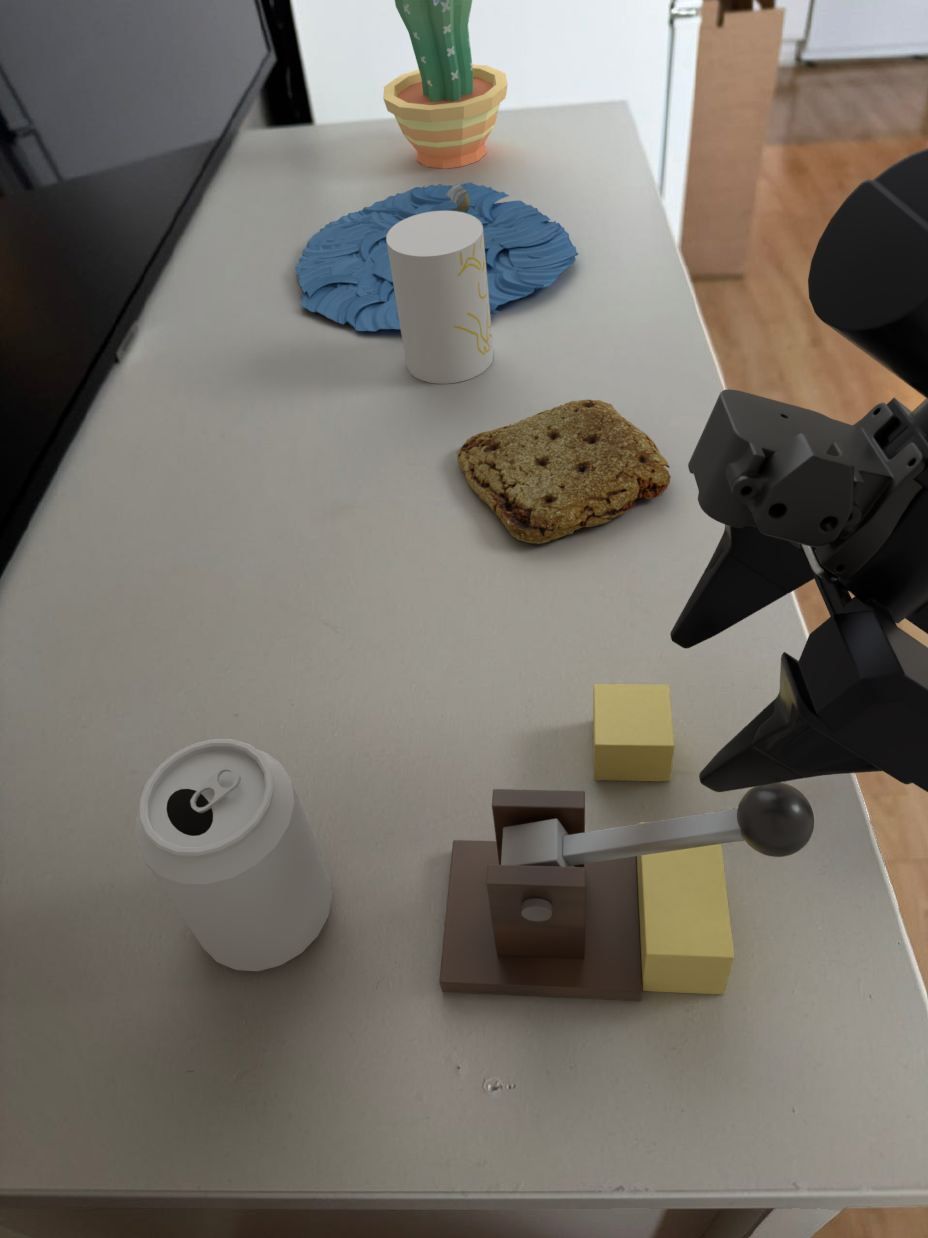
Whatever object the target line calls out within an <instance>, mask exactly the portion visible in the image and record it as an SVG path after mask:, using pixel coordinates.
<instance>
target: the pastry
mask: <svg viewBox="0 0 928 1238" xmlns="http://www.w3.org/2000/svg"><path fill="white" fill-rule="evenodd" d="M457 464H458V466H459V468H460V470H461V471H462V472H463V474H464V478H465V479H466V482H467V485H469V487H470V488H471V489H472V490H473V491H474V493H475V494H476V495H477V496H478V498H479V499H481V501H483V502H484V503H485V504H486V505H488V507H489V508H490V509H491V511H492V512H493V513H494V514H495V516H496V517H498V518H499V519H500V521H501V522H502V524H503V525H504V527H505V530H507V532H508V533H509V534H510V536H512V537H513V538H514V539H516V540H517V541H519V542H523V543H528V544H532V545H542V544H546V543H550V542H551V541H553V542H555V541H557V540H558V539H561V538H563V537H564V536H569V535H573V534H574V531H577V530H580V529H582V528H592V527H596V526H601V525H605V524H607V523H609V522H611V521H613V520H614V519H615V518H617V517H619V516H621V515H624V514H626V513H627V512H629V511H632V509H633V508H635V507H636V506H635V505H636V504H635V501H636V500H637V499H641V498H645V499H646V500H651V499H656V498H659V497H661V496H662V495H663V493H665V491H666V490H667V489H668V487H669V484H670V483H671V477H672V476H671V475H670V473H669V470H668V469H670V464H669V463H668V460H667V459H666V458H665V456H663V455H662V454H661V452H660V450H659V448H658V446H657V445H656V443H655V441H654V440H653V439H652V438H651V437H650V436H649V435H647V434H646V433H645V432H644V431H643V430H641V429H640V428H638V427H637V426H636V425H634V424H633V423H632V422H630V421H629V420H627V419H626V418H625V417H622V415H621V414H620V413H619V412H618V410H617V409H616V408H615V407H614V406H613V404H612V403H608V402H605V401H604V400H600V399H579V400H571V401H569V402H565V403H564V404H560V405H558V406H555V407H552V408H551V409H546V410H543V411H540V412H537V413H536V414H534V415H532V416H528V417H526V418H525V419H521V420H519V421H517V422H514V423H513V424H511V423H509V424H508V425H505V426H501V427H498V428H494V429H492V430H488V431H483V432H480V433H477V434H475V435H472V436H471V437H470V438H469V437H468V438H467V439H466V441H465V442H464V443H463V444H462V446H461V447H460V448H459V450H458V451H457ZM667 468H668V469H667Z"/></svg>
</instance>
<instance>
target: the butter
mask: <svg viewBox="0 0 928 1238" xmlns="http://www.w3.org/2000/svg"><path fill="white" fill-rule="evenodd" d="M641 823H647V821H645V822H643V821H640V822H639V823H638V824H641ZM722 845H723V844H716V845H709V846H703V847H696V848H689V849H682V850H675V851H668V852H662V853H655V854H648V855H641V856H637V875H638V896H639V917H640V939H641V960H642V981H643V992H655V993H656V992H657V993H679V994H680V993H682V994H698V995H699V994H701V995H702V994H703V995H720V996H721V995H724V994H725V991H726V987H727V983H728V980H729V977H730V975H731V974H730V973H731V970H732V967H733V963H734V960H735V950H734V943H733V935H732V934H733V932H732V925H731V917H730V916H731V915H730V906H729V900H728V899H729V898H728V892H727V891H728V890H727V883H726V882H727V881H726V873H725V864H724V855H723V846H722Z"/></svg>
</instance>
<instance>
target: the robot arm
mask: <svg viewBox="0 0 928 1238" xmlns="http://www.w3.org/2000/svg"><path fill="white" fill-rule="evenodd" d="M808 271H809V273H808V278H807V285H808V286H807V287H808V299H809V301H810V304H811V307H812V309H813V312H814V313H815V315H816V317H817V318H818V319H819V320H820V321H822V322H823V323H824V324H825V325H827V326H828V327H829V328H831V329H832V330H833V331H835V332H836V333H838V334H839V335H840V336H842V337H843V338H844V339H846V340H847V341H848V342H850V343H851V344H852V345H854V346H855V347H857V348H858V350H861V352H863V353H865V354H866V355H868V356H869V357H870V358H871V359H872V360H874V361H875V362H877V363H878V364H879V365H881V366H882V367H883V368H885V369H886V370H888V371H889V372H890V373H892V374H893V375H894V376H896V377H897V378H898V379H900V380H901V381H902V382H904V383H905V384H906V385H908V386H909V387H910V388H912V389H913V390H915V391H916V393H919V394H920V395H922V396H923V397H924V398H925V399H924V400H923V401H921V403H920V404H918V405H917V406H916V408H914V409H913V410H911V409H909V408H908V407H907V406H906V405H904V404H903V402H901V401H899V400H898V399H897V398H896V397H893V398H891V400H889V401H888V403H886V402H880V403H877V404H876V405H874V406H873V407H872V408H871V409H870V410H869V411H868V412H867V413H866V414H865V415H864V416H863V417H862V418H860V420H858V421H857V422H854V424H849V423H847V422H845V421H844V422H843V421H840V420H837V419H834V418H831V417H829V416H827V415H826V414H823V413H821V412H818V411H815V410H812V409H809V408H805V407H801V406H797V405H794V404H790V403H786V402H784V401H779V400H775V399H773V398H768V397H764V396H762V395H761V396H760V395H756V394H753V393H750V392H746V391H742V390H737V389H724V390H721V391H720V392H719V395H718V397H717V399H716V402H715V404H714V406H713V409H712V410H711V413H710V414H709V417H708V418H707V421H706V424H705V426H704V428H703V429H702V432H701V435H700V437H699V439H698V441H697V444H696V446H695V448H694V450H693V452H692V455H691V457H690V459H689V461H688V464H687V467H688V471H689V473H690V474H692V475H693V476H694V480H695V483H696V486H697V490H698V493H697V502H698V505H699V507H700V509H701V510H702V511H703V513H704V514H705V515H706V516H708V517H709V518H710V519H712V520H714V521H716V522H718V523H720V524H722V525H724V530H723V533H722V536H721V538H720V539H719V541H718V544H717V546H716V547H715V550H714V552H713V554H712V556H711V558H710V560H709V561H708V564H707V566H706V567H705V569H704V571H703V573H702V575H701V576H700V578H699V580H698V581H697V584H696V585H695V587H694V589H693V591H692V592H691V595H690V596H689V598H688V600H687V602H686V603H685V605H684V607H683V609H682V611H681V613H680V614H679V616H678V618H677V620H676V622H675V624H674V625H673V627H672V628H671V630H670V633H669V635H670V640H671V641H672V642H673V643H674V644H676V645H678V646H679V647H681V648H682V649H690V648H692V647H694V646H697V645H699V644H701V643H703V642H705V641H707V640H710V639H711V638H713V637H715V636H717V635H720V634H721V633H723V632H724V631H727V629H729V628H732V627H733V626H735V625H736V624H739V623H740V622H741V621H743V620H745V619H747V618H749V617H751V616H752V615H754V614H755V613H758V612H759V611H761V610H762V609H764V608H766V607H768V606H769V605H771V604H773V603H774V602H776V601H778V600H780V599H781V598H783V597H785V596H787V595H789V594H790V593H792V592H795V590H797V589H799V588H801V587H802V586H804V585H807V584H808V583H810V582H811V581H813V580H814V581H815V584H816V586H817V588H818V591H819V593H820V595H821V597H822V600H823V602H824V605H825V607H826V609H827V611H828V614H829V617H828V618H827V619H825V621H823V622H822V623H821V624H820V625H818V626H817V627H816V628H815V629H814V630H813V631H812V632H810V633H809V635H808V636H807V637H808V638H807V639H806V641H805V644H804V647H803V649H802V652H801V655H800V656H799V659H797V658H795V657H794V656H792V655H790V654H789V653H787V652H786V651H784V652H782V654H781V656H780V673H779V691H778V693H777V695H776V697H775V698H774V699H773V700H772V701H771V702H770V703H769V704H767V706H765V707H764V709H762V711H760V712H759V713H758V714H757V715H756V716H755V717H754V718H753V719H752V720H751V721H750V722H748V723H747V724H746V725H745V726H744V727H743V728H742V729H741V730H740V731H739V732H738V733H737V734H735V736H733V738H732V739H731V740H729V741H728V742H727V743H726V744H725V745H724V746H723V747H722V748H720V750H719V751H718V752H717V753H716V754H715V755H714V756H713V757H712V758H711V760H710V761H709V762H708V763H707V764H706V765H705V766H704V767H703V769H701V771H700V772H699V774H698V778H699V782H700V783H699V784H701V785H702V786H704V787H706V788H708V789H710V790H711V791H713V792H715V793H724V792H730V791H737V790H742V789H748V788H749V789H750V788H753V787H755V786H761V785H767V784H773V783H778V782H782V783H785V782H789V781H790V782H791V781H795V780H802V779H809V778H814V777H822V776H830V775H846V774H859V773H860V774H862V773H873V772H874V773H875V772H884V773H885V774H887V775H888V776H890V777H892V778H894V779H895V780H897V781H898V782H900V783H901V784H904V785H907V786H908V785H911V784H914V785H915V786H917V787H918V788H920V789H921V790H923V791H925V792H926V793H928V646H926V644H924V643H922V642H920V641H919V640H917V639H916V638H915V637H913V636H912V635H910V634H909V633H907V632H906V631H905V630H903V629H902V628H901V627H899V626H898V625H897V624H900V623H901V622H902V621H903V620H906V621H908V622H909V623H910V624H912V625H914V626H915V627H917V628H918V629H919V630H921V631H922V632H924V633H925V634H927V635H928V147H927V148H925V149H922V150H918V151H916V152H913V153H911V154H909V155H908V156H906V157H904V158H902V159H900V160H899V161H897V162H895V163H894V164H892V165H890V166H889V167H887V168H886V169H885V170H884V171H882V172H881V173H880V174H878V175H877V176H876V177H874V178H873V179H869V178H868V179H866V180H863V181H861V183H860V184H858V185H857V186H856V188H854V190H852V192H851V193H850V194H849V195H848V196H847V197H846V198H845V199H844V201H843V202H842V204H841V205H840V207H839V208H838V209H837V210H836V212H835V213H834V214H833V215H832V217H831V218H830V220H829V221H828V224H827V225H826V227H825V229H824V230H823V233H822V234H821V236H820V237H819V239H818V242H817V245H816V248H815V249H814V253H813V255H812V257H811V261H810V267H809V270H808ZM851 595H853V596H854V597H852V596H851Z"/></svg>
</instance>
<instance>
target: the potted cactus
mask: <svg viewBox="0 0 928 1238" xmlns="http://www.w3.org/2000/svg"><path fill="white" fill-rule="evenodd" d="M394 4H395V8H396V11H397V13H398V14H399V16H400V18H401V20H402V22H403V24H404V26H405V28H406V31H407V33H408V36H409V39H410V42H411V47H412V50H413V54H414V57H415V60H416V64H417V68H418V69H416V70H413V71H410V72H406V73H403V74H400V75H398V76H397V77H395V78H394V79H392V80H391V81H390V82H389V83H387V84H385V85H384V86H383V96H382V99H383V102H384V105H385V107H386V110H387V112H389V113H391V114H392V115H393V116H394V118H395V121H396V122H397V124H398V127H399V128H400V131H401V133H402V136H404V138H405V139H406V140H407V141H408V143H409V144H411V146H412V147H413V148H414V149H415V150H416V162H418V163H420V164H421V165H423V166H425V167H426V168H432V169H433V168H434V169H442V170H444V169H452V168H462V167H465V166H467V165H471V164H473V163H474V164H475V163H477V162H479V161H480V160H481V159H482V158H483V157H484V156H486V154H487V149H486V145H485V143H486V142H487V140H488V138H489V136H490V134H491V133H492V131H493V129H494V128H495V125H496V121H497V117H498V113H499V109H500V105H501V102H503V101H504V100H505V99H506V97H507V92H508V86H509V85H508V80H507V75H506V73H505V72H503V71H501V70H499V69H497V68H494V67H492V66H490V65H485V64H474V63H473V59H472V50H471V41H470V31H469V22H470V17H471V11H472V6H473V5H472V4H473V0H394Z"/></svg>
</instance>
